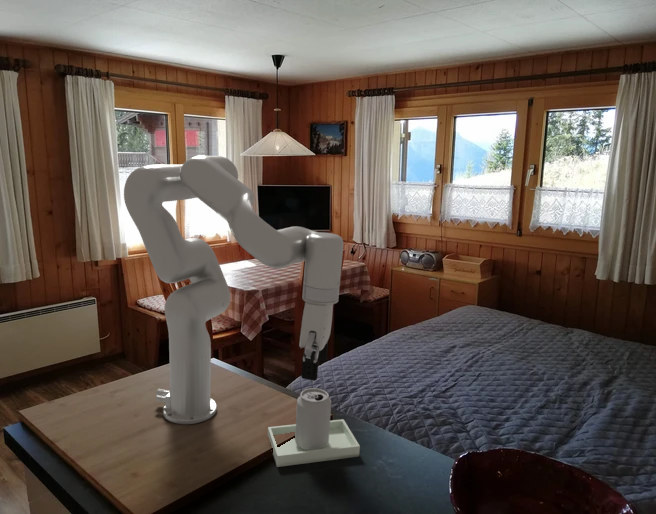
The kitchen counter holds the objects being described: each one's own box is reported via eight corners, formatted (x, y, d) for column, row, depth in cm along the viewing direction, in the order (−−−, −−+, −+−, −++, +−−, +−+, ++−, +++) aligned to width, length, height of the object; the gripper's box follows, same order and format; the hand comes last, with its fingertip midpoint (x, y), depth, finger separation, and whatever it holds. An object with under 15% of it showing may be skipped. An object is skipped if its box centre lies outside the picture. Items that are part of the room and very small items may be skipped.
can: (324, 456, 108) (328, 404, 106) (290, 450, 109) (293, 399, 107) (331, 437, 115) (334, 388, 113) (299, 432, 117) (302, 383, 114)
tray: (277, 466, 105) (277, 456, 104) (267, 437, 115) (267, 427, 115) (359, 456, 110) (359, 446, 109) (342, 428, 120) (343, 419, 120)
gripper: (312, 280, 114) (307, 351, 118) (292, 302, 97) (286, 384, 101) (345, 284, 113) (338, 356, 116) (330, 307, 96) (323, 390, 100)
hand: (314, 369), depth 109 cm, fingers open, 9 cm apart
